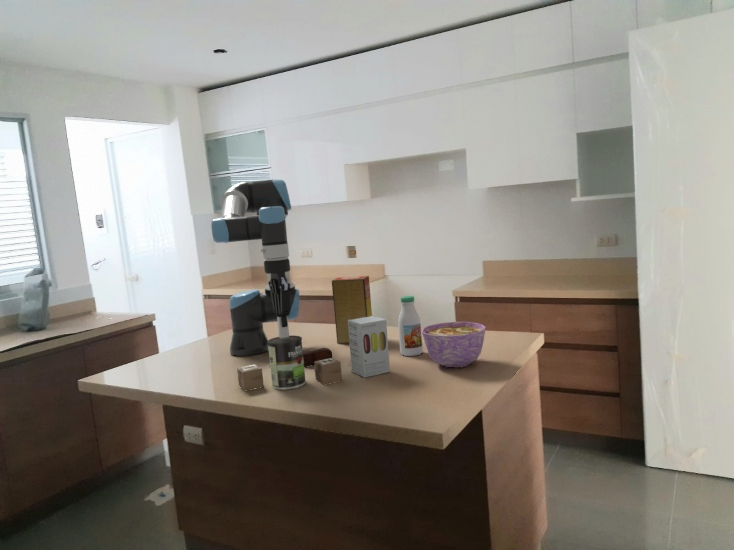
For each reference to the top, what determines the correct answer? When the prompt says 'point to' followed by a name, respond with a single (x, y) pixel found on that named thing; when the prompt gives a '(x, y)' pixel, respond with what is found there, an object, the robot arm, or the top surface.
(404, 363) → the top surface
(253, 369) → the number block left
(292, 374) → the coffee can
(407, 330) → the milk bottle
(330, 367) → the number block right
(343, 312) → the food packaging
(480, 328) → the bowl of food
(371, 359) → the supplement box
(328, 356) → the brick
